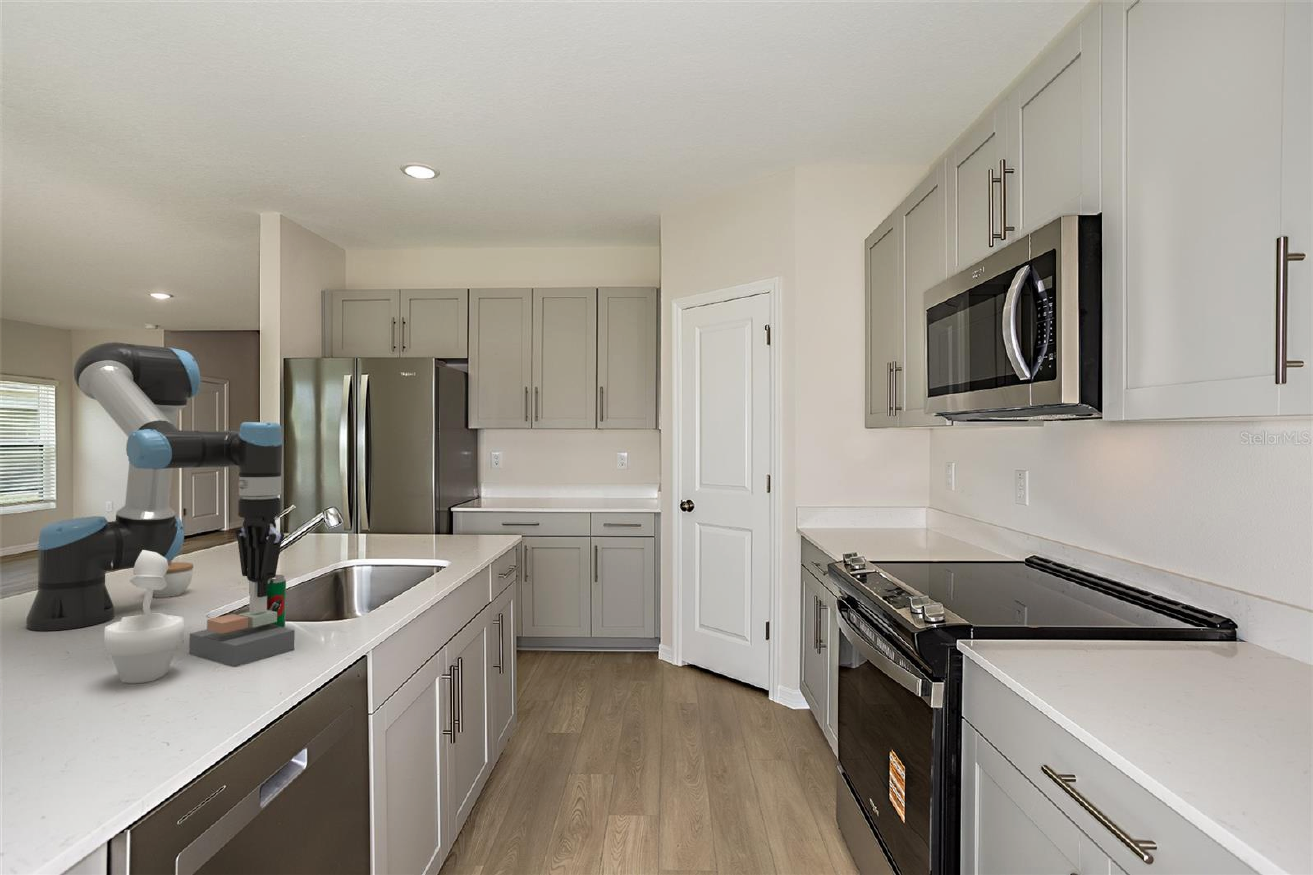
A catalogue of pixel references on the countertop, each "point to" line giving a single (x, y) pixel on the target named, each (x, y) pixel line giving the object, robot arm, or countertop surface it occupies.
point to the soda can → (277, 598)
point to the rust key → (227, 623)
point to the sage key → (260, 618)
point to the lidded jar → (176, 579)
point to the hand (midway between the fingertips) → (258, 612)
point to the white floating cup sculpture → (145, 629)
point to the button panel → (242, 644)
